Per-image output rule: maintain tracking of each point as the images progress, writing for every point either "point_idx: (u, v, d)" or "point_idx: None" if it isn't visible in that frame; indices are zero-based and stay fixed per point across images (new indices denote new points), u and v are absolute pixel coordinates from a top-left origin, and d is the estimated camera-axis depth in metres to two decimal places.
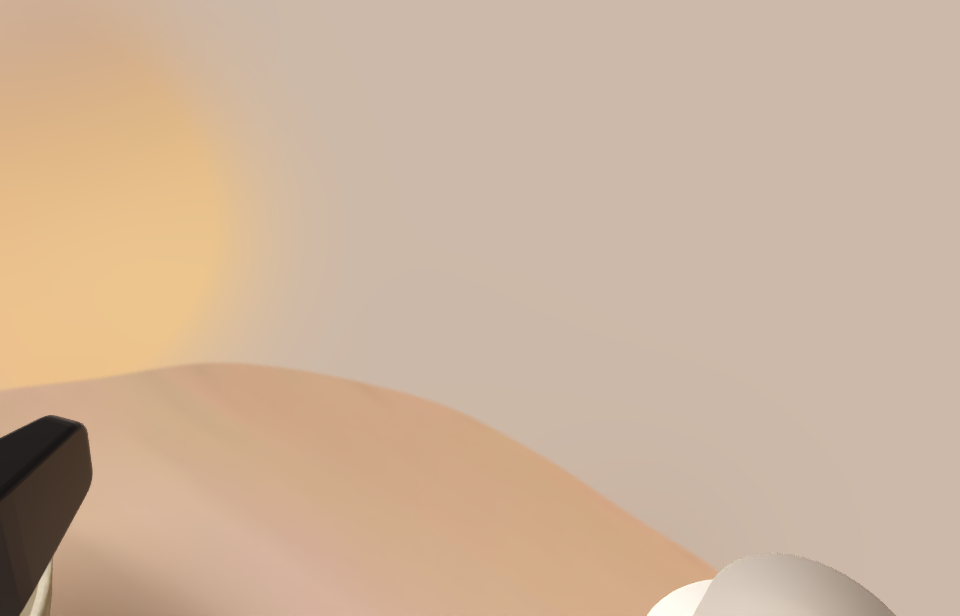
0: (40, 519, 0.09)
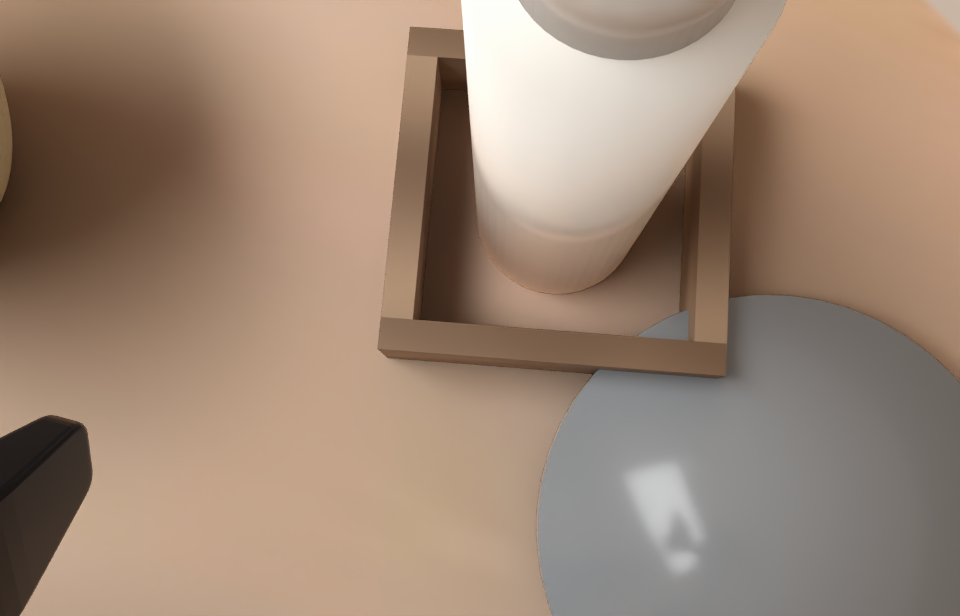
0: (40, 519, 0.09)
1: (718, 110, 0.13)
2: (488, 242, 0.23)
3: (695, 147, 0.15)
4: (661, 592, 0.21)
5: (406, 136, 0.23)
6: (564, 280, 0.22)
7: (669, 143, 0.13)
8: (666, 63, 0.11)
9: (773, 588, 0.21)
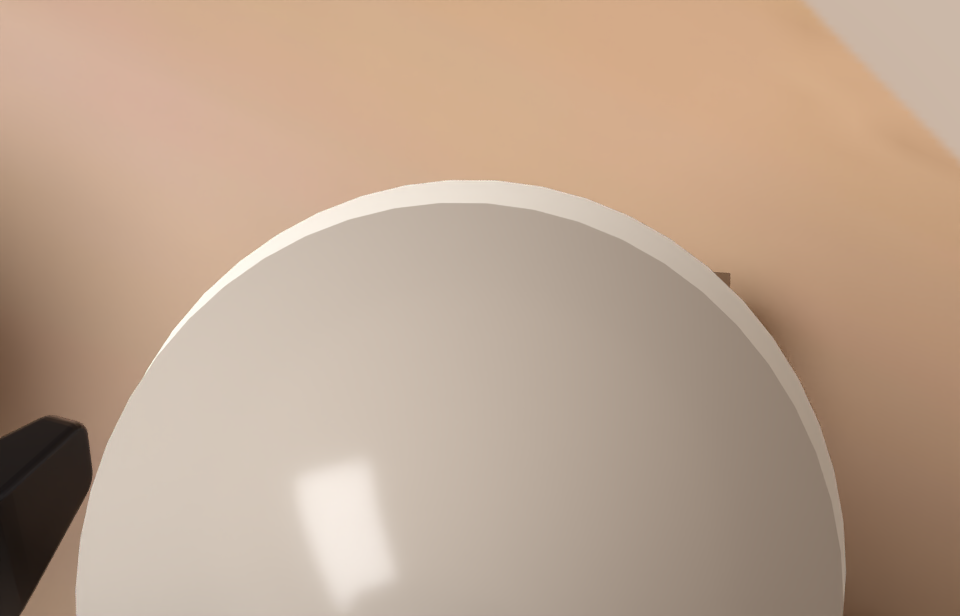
0: (40, 519, 0.09)
1: None
2: None
3: None
4: None
5: None
6: None
7: None
8: None
9: None
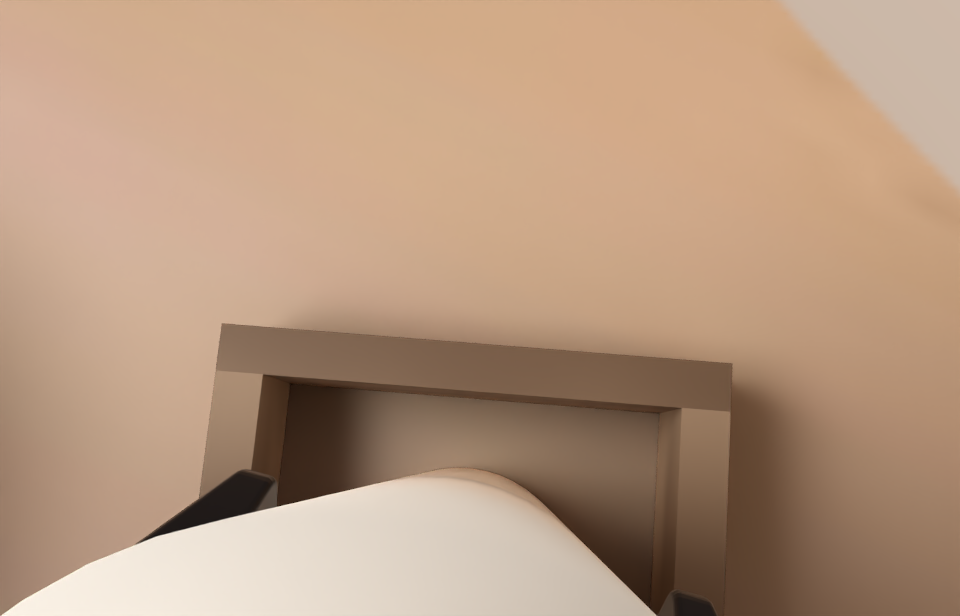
0: None
1: None
2: None
3: None
4: None
5: None
6: None
7: None
8: None
9: None
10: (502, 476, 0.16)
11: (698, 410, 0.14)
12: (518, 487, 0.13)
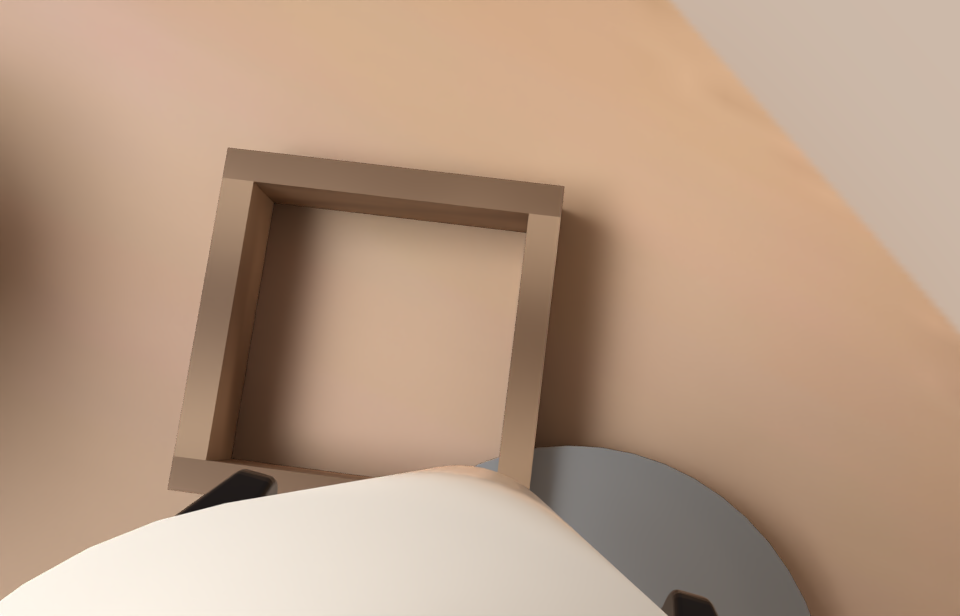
0: None
1: None
2: None
3: None
4: None
5: (215, 264, 0.22)
6: None
7: None
8: None
9: None
10: (502, 474, 0.16)
11: (539, 215, 0.22)
12: (517, 484, 0.13)
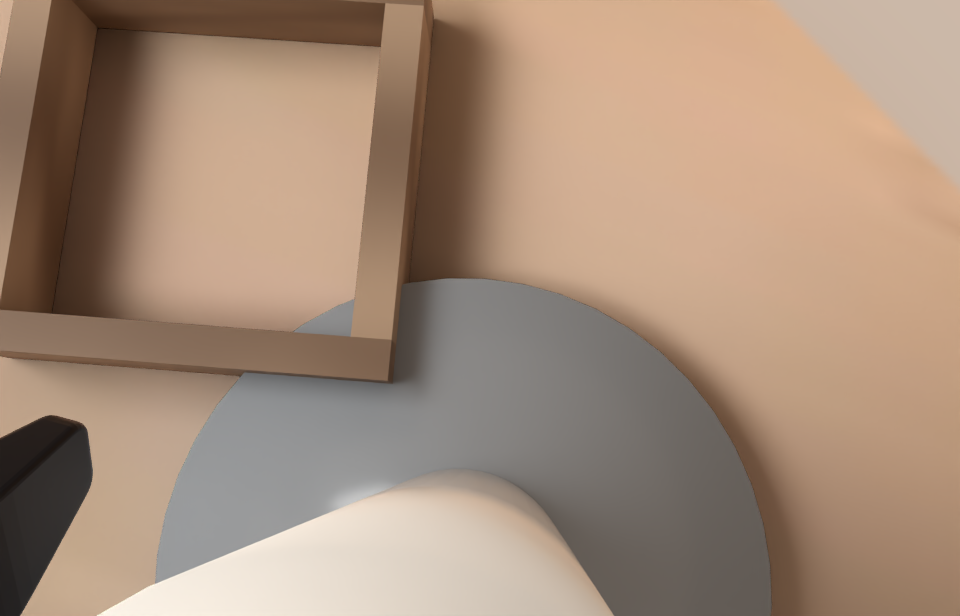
0: (40, 519, 0.09)
1: None
2: None
3: None
4: None
5: (8, 80, 0.18)
6: None
7: None
8: None
9: None
10: (499, 477, 0.17)
11: (398, 5, 0.18)
12: (512, 490, 0.14)
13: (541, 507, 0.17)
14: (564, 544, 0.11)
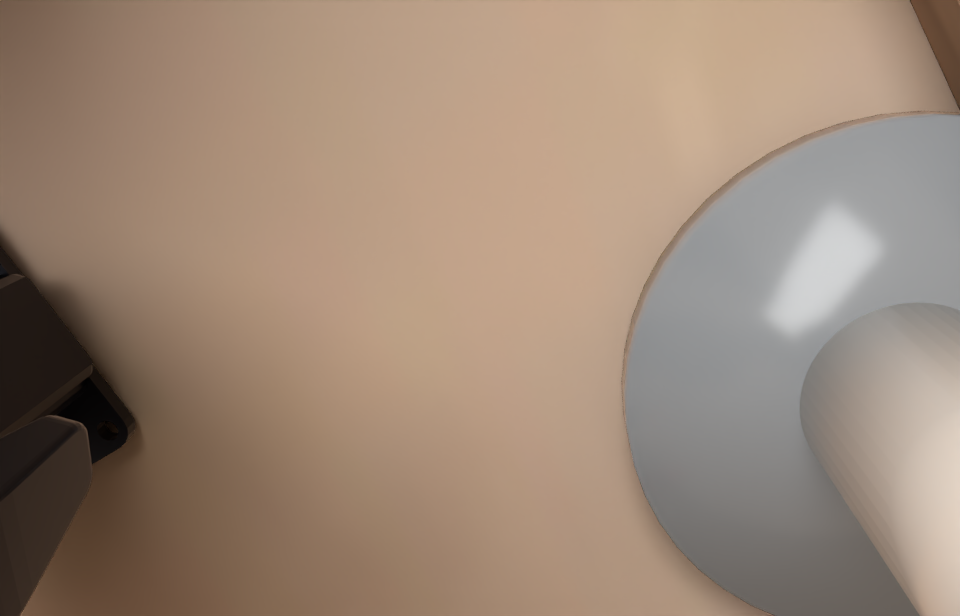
0: (40, 519, 0.09)
1: None
2: (837, 391, 0.17)
3: None
4: (778, 328, 0.18)
5: None
6: None
7: None
8: None
9: None
10: None
11: None
12: None
13: None
14: None
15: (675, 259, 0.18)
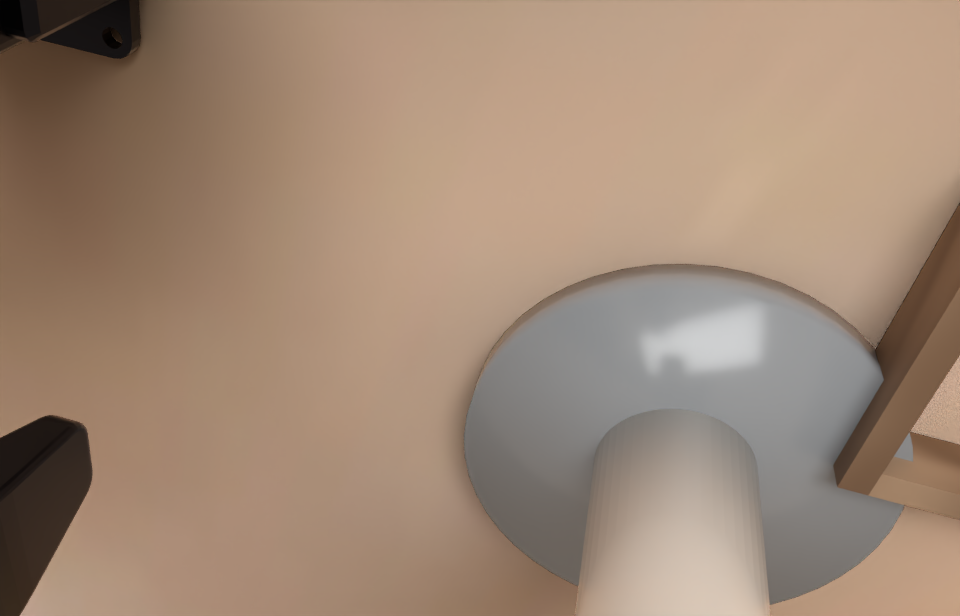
0: (40, 519, 0.09)
1: None
2: (644, 453, 0.22)
3: None
4: (647, 379, 0.23)
5: None
6: (589, 502, 0.23)
7: None
8: None
9: None
10: None
11: None
12: None
13: None
14: None
15: (629, 292, 0.21)
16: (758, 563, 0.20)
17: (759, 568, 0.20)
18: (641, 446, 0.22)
